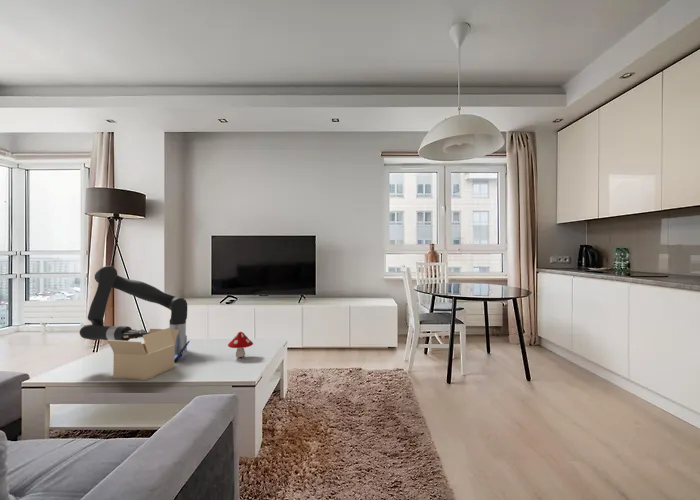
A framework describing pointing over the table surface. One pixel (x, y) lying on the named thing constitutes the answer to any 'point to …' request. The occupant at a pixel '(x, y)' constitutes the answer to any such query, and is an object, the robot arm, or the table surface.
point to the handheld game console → (177, 356)
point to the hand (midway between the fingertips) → (149, 334)
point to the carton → (141, 359)
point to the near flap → (158, 340)
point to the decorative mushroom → (240, 344)
